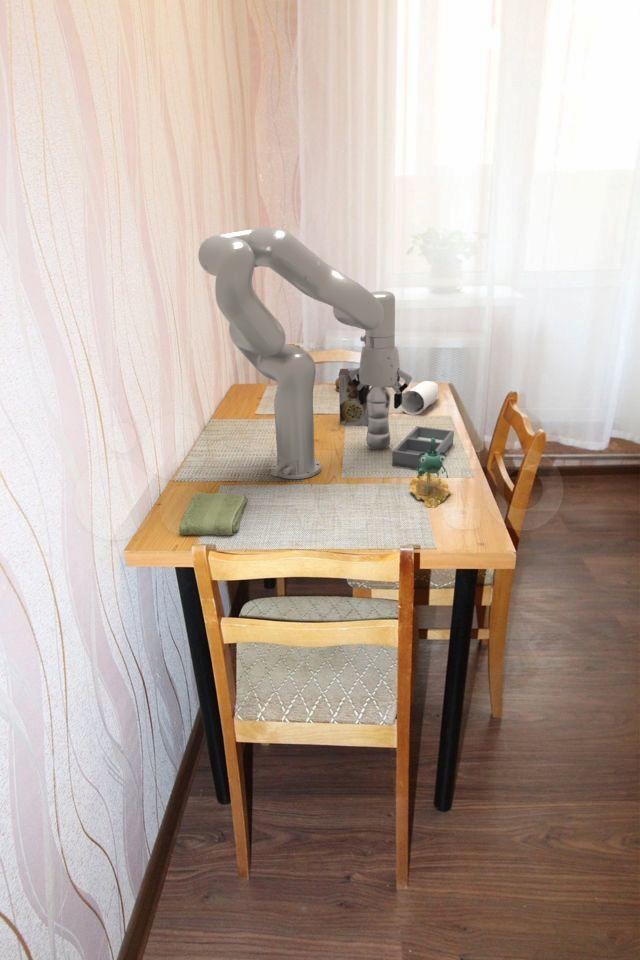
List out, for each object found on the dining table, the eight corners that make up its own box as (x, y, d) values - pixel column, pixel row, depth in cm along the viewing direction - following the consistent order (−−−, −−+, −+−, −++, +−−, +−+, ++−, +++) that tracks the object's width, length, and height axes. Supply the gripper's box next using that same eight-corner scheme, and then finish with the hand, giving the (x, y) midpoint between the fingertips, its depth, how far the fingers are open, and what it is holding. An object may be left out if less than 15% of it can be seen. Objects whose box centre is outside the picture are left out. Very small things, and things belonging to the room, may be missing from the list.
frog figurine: (448, 476, 160) (453, 422, 153) (452, 517, 145) (457, 459, 137) (409, 474, 162) (412, 421, 154) (409, 515, 146) (412, 457, 139)
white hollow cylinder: (444, 401, 215) (446, 377, 212) (422, 417, 201) (424, 392, 198) (422, 397, 219) (423, 374, 216) (399, 413, 205) (400, 389, 201)
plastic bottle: (394, 449, 177) (396, 378, 168) (372, 453, 174) (372, 381, 166) (383, 442, 182) (385, 372, 174) (361, 445, 180) (362, 375, 172)
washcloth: (249, 501, 151) (248, 488, 150) (237, 539, 135) (235, 525, 134) (194, 501, 152) (193, 488, 150) (175, 538, 136) (173, 525, 134)
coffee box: (370, 419, 200) (370, 368, 193) (369, 426, 194) (369, 373, 188) (340, 418, 201) (340, 367, 194) (339, 425, 195) (338, 373, 189)
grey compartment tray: (432, 472, 163) (432, 457, 161) (392, 465, 167) (392, 451, 165) (453, 444, 179) (453, 430, 178) (416, 439, 184) (416, 426, 182)
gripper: (343, 342, 167) (344, 406, 174) (407, 347, 160) (406, 413, 167) (354, 336, 173) (355, 397, 180) (416, 340, 166) (415, 404, 173)
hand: (380, 405), depth 173 cm, fingers open, 9 cm apart
